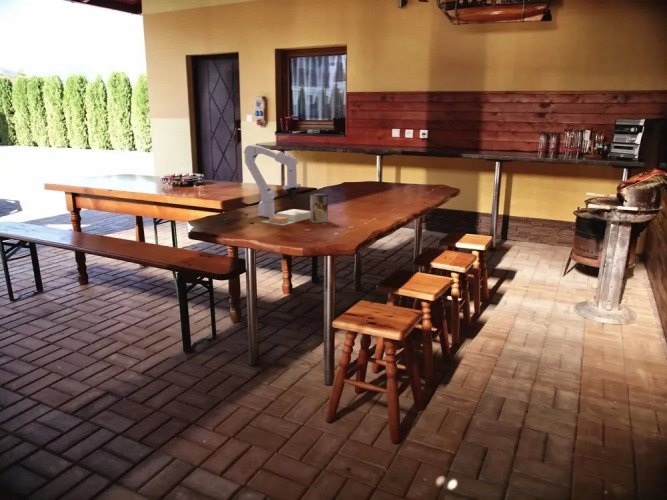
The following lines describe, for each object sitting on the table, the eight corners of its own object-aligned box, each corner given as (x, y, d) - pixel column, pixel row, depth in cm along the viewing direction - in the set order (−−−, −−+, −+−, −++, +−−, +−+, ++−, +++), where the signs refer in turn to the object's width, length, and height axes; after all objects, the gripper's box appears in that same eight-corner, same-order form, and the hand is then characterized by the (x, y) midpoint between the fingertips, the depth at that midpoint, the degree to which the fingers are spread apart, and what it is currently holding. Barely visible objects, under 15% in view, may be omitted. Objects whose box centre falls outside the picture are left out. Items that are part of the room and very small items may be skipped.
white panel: (276, 219, 312) (276, 212, 311) (293, 215, 325) (293, 209, 324) (294, 222, 304) (294, 215, 303) (311, 218, 317) (311, 211, 316)
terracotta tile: (275, 215, 307) (275, 220, 308) (268, 217, 303) (268, 221, 303) (287, 217, 302) (287, 221, 303) (280, 219, 298) (280, 223, 298)
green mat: (261, 222, 303) (261, 221, 303) (275, 219, 313) (275, 218, 313) (282, 225, 294) (282, 225, 294) (296, 222, 304) (296, 221, 304)
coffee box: (325, 220, 311) (325, 193, 307) (327, 222, 305) (328, 194, 301) (310, 220, 309) (309, 193, 305) (312, 223, 303) (312, 195, 299)
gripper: (289, 179, 305) (289, 202, 309) (304, 176, 317) (304, 199, 320) (279, 178, 309) (280, 201, 313) (295, 176, 321) (296, 198, 324)
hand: (292, 200), depth 317 cm, fingers closed
